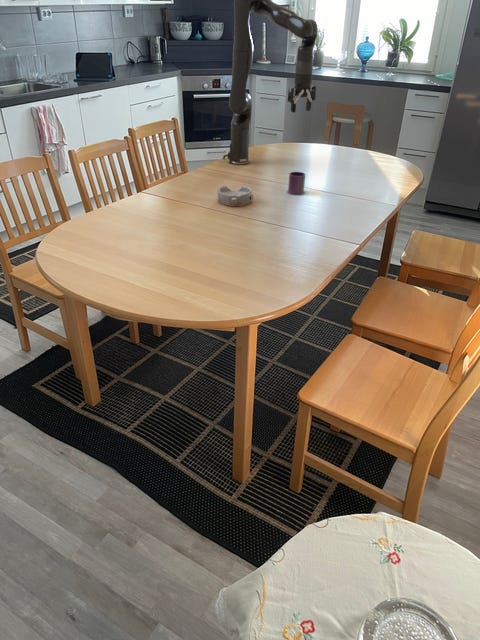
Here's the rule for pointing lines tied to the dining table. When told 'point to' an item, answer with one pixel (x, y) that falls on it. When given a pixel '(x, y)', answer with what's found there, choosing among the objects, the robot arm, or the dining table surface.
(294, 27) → the robot arm
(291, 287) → the dining table surface
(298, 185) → the cup
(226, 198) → the dish
